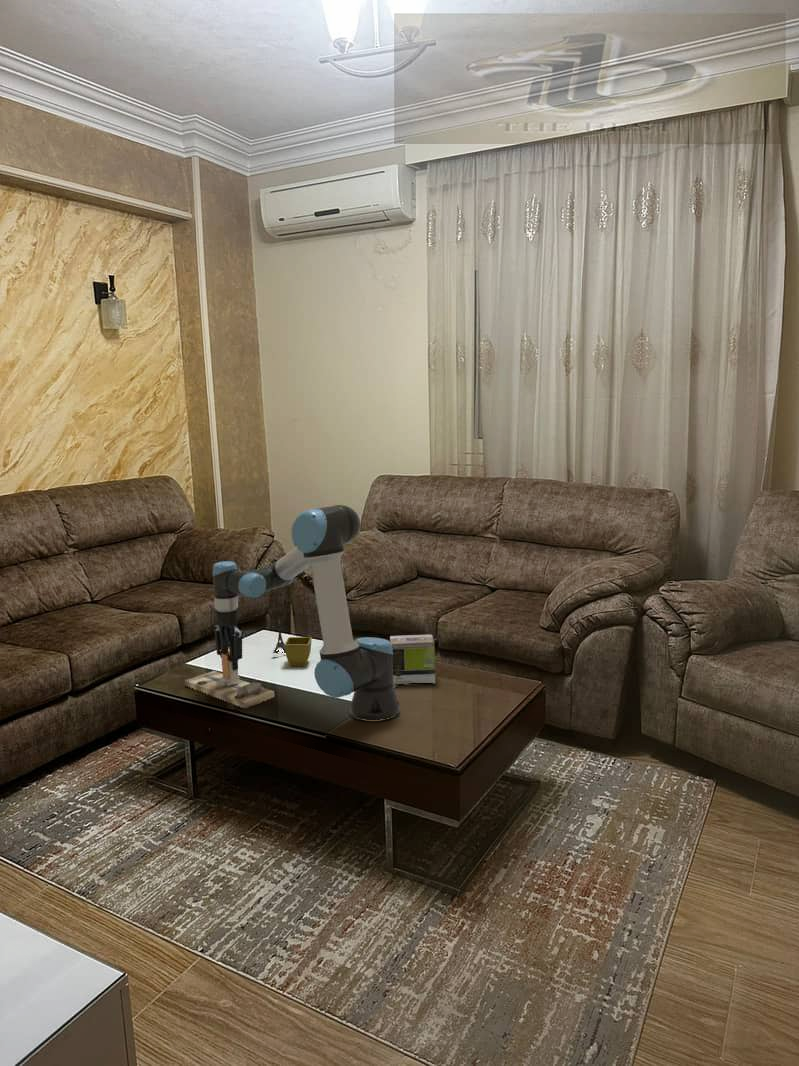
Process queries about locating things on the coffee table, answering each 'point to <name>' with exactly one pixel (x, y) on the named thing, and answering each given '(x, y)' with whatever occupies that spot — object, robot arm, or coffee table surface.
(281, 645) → the eiffel tower figurine
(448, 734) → the coffee table surface
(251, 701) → the gauge board
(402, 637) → the tea box
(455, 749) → the coffee table surface
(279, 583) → the robot arm
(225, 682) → the slide leg
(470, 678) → the coffee table surface
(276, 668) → the coffee table surface
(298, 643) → the flower pot
